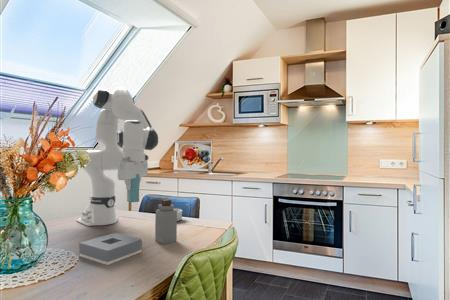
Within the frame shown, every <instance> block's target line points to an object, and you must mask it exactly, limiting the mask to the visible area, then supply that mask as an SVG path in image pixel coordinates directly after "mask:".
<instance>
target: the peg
mask: <svg viewBox="0 0 450 300" xmlns="http://www.w3.org/2000/svg"><path fill="white" fill-rule="evenodd" d="M130 184H131V185H132V189H131V190H127V189H126V193H127V194H126V200H127V202H128V203H129V204H130V203H139V202H140V187H139V174H136V178H134V179H131V182H130Z"/></svg>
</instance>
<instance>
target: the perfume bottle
mask: <svg viewBox="0 0 450 300" xmlns="http://www.w3.org/2000/svg"><path fill="white" fill-rule="evenodd" d="M160 203H161V204H157V207H158V209H155V219H154V220H155V221H154V222H155V227H154V228H155V230H154V231H155V234H154V236H155V237H154V240H155V241H156V242H158V243H159V244H162V245H165V244H170V243H174V242H177V240H178V239H177V233H178V231H177V228H178V227H177V225H178V224H177V210H174V209H175V205H174V204H172V199H168V198H167V199H161V200H160Z"/></svg>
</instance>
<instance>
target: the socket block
mask: <svg viewBox="0 0 450 300" xmlns="http://www.w3.org/2000/svg"><path fill="white" fill-rule="evenodd" d="M140 253H143V238H138V237H135V236H131V235H125V234H120V233H118V232H117V233H116V232H113V233H109V234H106V235H103V236H99V237H95V238H91V239H88V240H84V241H81V242H79V257H81V258H84V259H87V260H90V261H93V262H97V263H100V264H103V265H106V266H108V265H111V264H112V265H113V264H114V263H117V262H119V261H122V260H124V259H125V260H126V259H127V258H130V257H132V256H134V255H138V254H140Z"/></svg>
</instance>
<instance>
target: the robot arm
mask: <svg viewBox="0 0 450 300" xmlns="http://www.w3.org/2000/svg"><path fill="white" fill-rule="evenodd" d="M92 103H93V105H94V107H96V108H99V109H101V110H100V111H99V114H98V118H97V121H96V127H95V128H96V129H95V140H96V142H97V143H98V144H100V145H101V146H104V147H105V149H100V150H97V149H94V150H93V149H91V150H86V151H87V152H88V154H89V157H90V159H91V161H90V163H89V164H88V165H87V166H86V167H85V168H83V169H82V170H83V171H84V172H85V173H87V175H88V176H89V178H90V180H91V184H92V196H90V197H89V200H90V202H89V204H88V205H87V206H86V207H85V208H83V210H82V212H81V217H79V218H78V219H76V222H78V223H80V224H81V225H85V226H88V227H91V226H93V227H94V226H108V225H113V224H115V223H117V222H118V220H119V216H118V214H117V205H116V199H117V198H116V195H115V193H116V192H115V191H116V190H115V187H116V186H115V185H116V183H115V181H114V180H113V178H111V177H109V176H107V175H106V174H104V172H105V171H115V172H116V171H117V179H118V180H119V181H124V184H125V186H126V187H125V188H126V189H125V190H126V191H127V190H131V189H132V185H131V184H130V182H131V179H134V178H136V174H139V188H140V184H141V181H142V177H147V175H148V170H149V169H148V168H149V163H148V161H149V157H150V156H149V155H147V154H146V153H145V150H148V151H152V150H154V149H155V148H156V147H157V146H158V144H159V135H158V133H157V132H156V130H155V129H154V128H153V126H152V124H151V123H150V121H149V118H148V117H147V115H146V113H145V112H144V111H143V109H142V108H139V107H138V106H137V105H136V104H135V100H134V98H133V97H132V95H131V93H130V91H129V90H128V89H127V88H125V87H122V86H121V87H116V88H115V89H113V91H111V90H107V89H106V88H104V89H103V88H98V89H97V90H96V91H95V92H94V93H93V97H92ZM119 120H122V121H124V124H123V128H121V129H119V130H118V125H119V123H118V122H119Z"/></svg>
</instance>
